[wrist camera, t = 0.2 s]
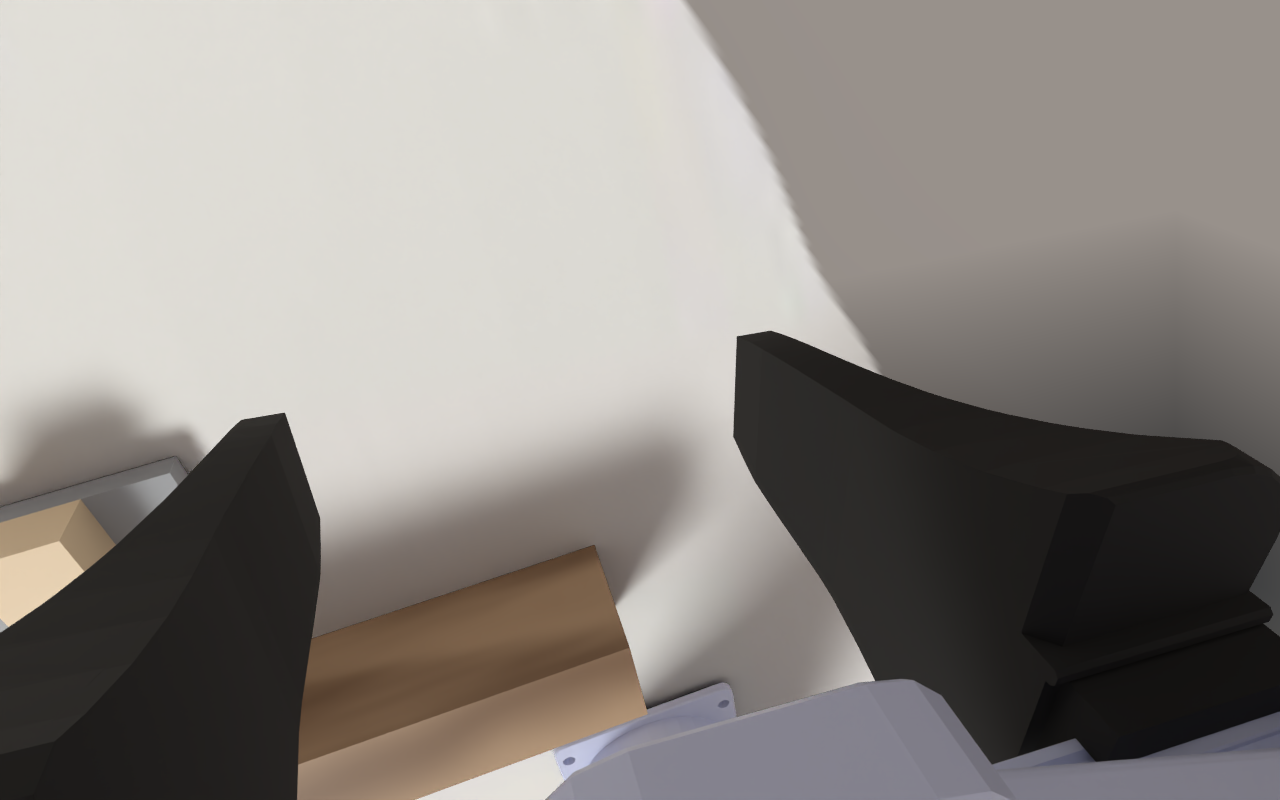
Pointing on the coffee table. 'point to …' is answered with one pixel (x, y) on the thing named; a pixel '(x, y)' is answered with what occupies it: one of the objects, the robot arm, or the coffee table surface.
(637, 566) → the coffee table surface
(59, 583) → the fulcrum
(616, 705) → the batten
